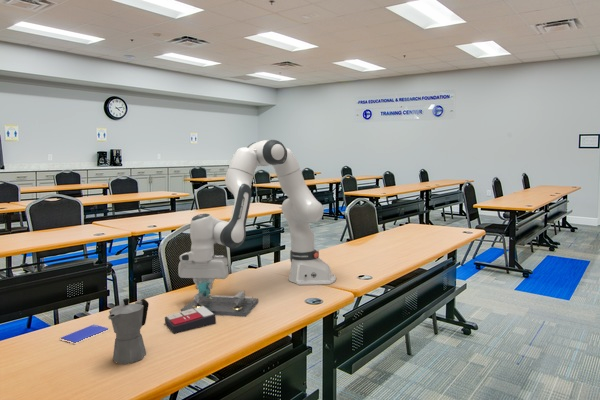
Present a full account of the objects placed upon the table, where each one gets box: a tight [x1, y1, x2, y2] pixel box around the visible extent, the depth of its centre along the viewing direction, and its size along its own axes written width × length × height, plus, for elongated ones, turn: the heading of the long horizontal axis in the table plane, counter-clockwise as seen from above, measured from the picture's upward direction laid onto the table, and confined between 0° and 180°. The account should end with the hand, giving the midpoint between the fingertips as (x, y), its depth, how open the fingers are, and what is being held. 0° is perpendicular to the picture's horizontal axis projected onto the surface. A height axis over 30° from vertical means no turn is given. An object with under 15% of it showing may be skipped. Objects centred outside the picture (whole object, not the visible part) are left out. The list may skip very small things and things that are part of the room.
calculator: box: [164, 306, 217, 335], centre depth 153 cm, size 11×4×15 cm
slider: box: [194, 281, 211, 305], centre depth 170 cm, size 3×9×7 cm, turn 169°
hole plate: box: [180, 290, 260, 318], centre depth 169 cm, size 26×16×6 cm, turn 79°
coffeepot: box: [107, 298, 149, 365], centre depth 128 cm, size 15×9×18 cm, turn 159°
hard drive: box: [60, 324, 109, 343], centre depth 145 cm, size 2×8×12 cm
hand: (204, 288), depth 173 cm, fingers closed on slider, 3 cm apart
